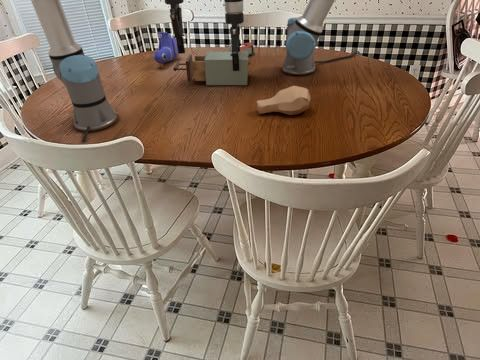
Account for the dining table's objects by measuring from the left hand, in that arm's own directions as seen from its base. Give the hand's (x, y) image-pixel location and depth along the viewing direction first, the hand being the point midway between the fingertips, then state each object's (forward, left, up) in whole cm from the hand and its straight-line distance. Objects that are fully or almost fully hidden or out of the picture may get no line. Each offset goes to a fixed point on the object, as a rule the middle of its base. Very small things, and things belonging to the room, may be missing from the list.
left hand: (181, 52), depth 154 cm
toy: (+29, +14, -13) cm, 35 cm away
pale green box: (-1, -19, -13) cm, 23 cm away
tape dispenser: (+32, -25, -13) cm, 43 cm away
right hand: (-1, -24, -7) cm, 25 cm away
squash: (-35, -41, -13) cm, 56 cm away
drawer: (0, -7, -12) cm, 14 cm away
